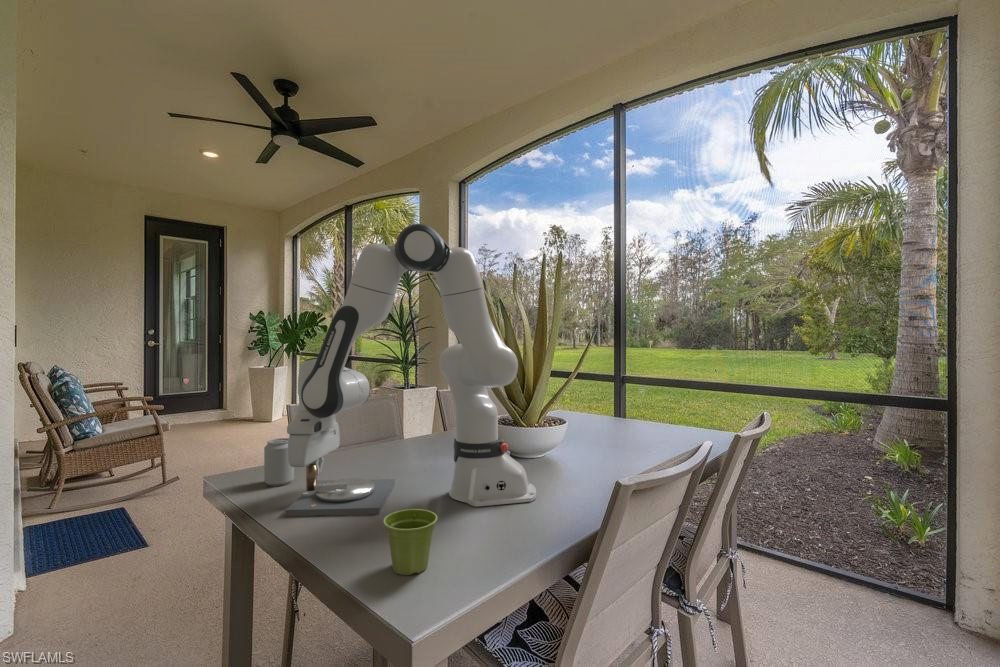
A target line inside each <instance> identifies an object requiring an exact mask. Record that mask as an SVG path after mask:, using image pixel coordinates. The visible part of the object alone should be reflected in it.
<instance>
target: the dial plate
mask: <svg viewBox="0 0 1000 667" xmlns="http://www.w3.org/2000/svg"><path fill="white" fill-rule="evenodd" d="M335 480H336V479H335ZM335 480H334V479H331V480H330V479H329V480H326V479H325V480H317V484H324V483H327V482H330V481H335ZM369 480H370V481H372V482H373V483H374V492H373V493H372V494H370V495H368V496H366V497H364V498H361V499H357V500H352V501H345V502H327V501H322V500H319V499H317V498H316V490H315V491H306V490H305V491H304V492H302V493H301V495H300V496H299V497H298V498H297V499H296V500H295V501H293V503H291V504H290V505H289V506H288V507H287V508H286V509H285V517H321V515H330V516H361V515H362V516H364V515H365V516H367V515H368V516H369V515H370V514H371V515H372V514H373V516H374V514H376V515H380V513H381V512H382V510H383V508H384V506H385V505H386V503H387V501H388V499H389V497H390V495H391V493H392V491H393V489H394V487H395V486H396V479H395V478H394V479H393V478H392V479H382V478H381V479H369ZM315 515H316V516H315ZM318 515H320V516H318ZM371 515H370V516H371Z"/></svg>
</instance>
